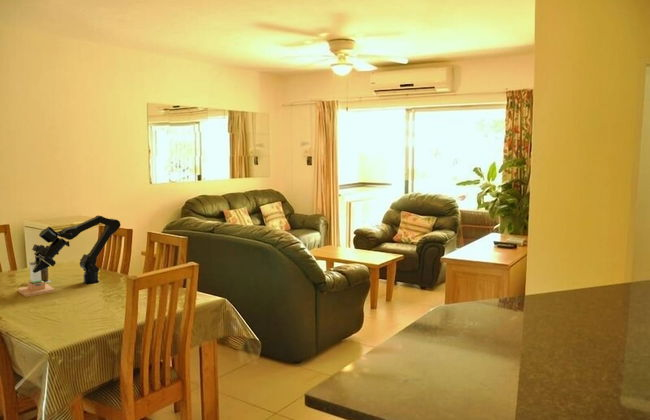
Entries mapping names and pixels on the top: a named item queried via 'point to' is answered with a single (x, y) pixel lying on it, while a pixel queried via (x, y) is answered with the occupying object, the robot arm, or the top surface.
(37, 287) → the stand
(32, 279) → the column
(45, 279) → the condiment
